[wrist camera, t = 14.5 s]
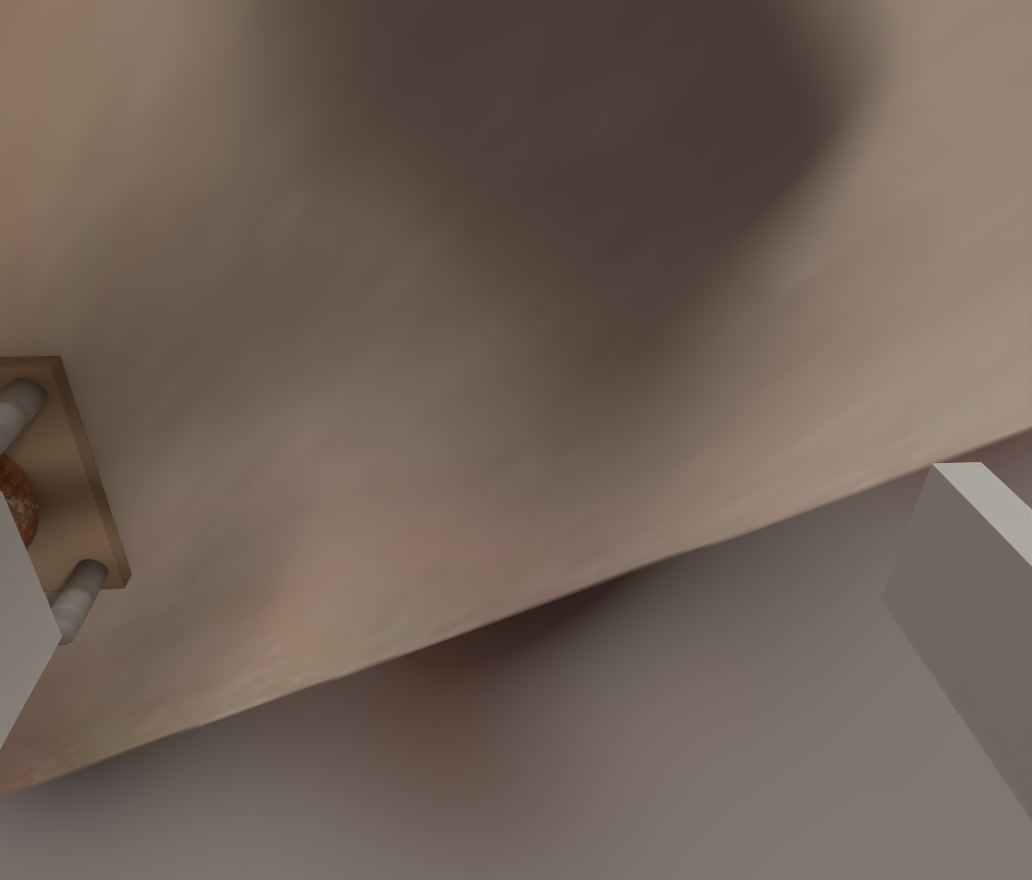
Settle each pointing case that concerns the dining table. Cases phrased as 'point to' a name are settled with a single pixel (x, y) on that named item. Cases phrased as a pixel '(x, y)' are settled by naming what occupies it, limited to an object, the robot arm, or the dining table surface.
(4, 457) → the bread roll
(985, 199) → the dining table surface
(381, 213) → the dining table surface
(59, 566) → the trivet
